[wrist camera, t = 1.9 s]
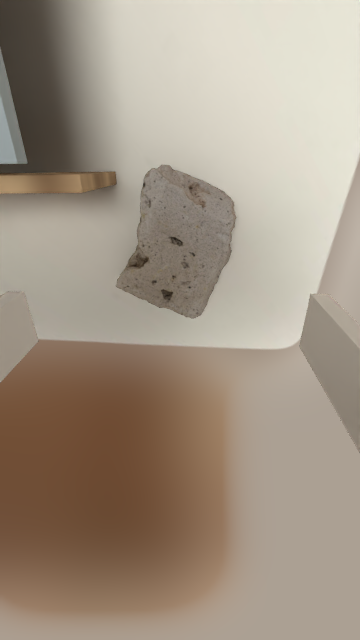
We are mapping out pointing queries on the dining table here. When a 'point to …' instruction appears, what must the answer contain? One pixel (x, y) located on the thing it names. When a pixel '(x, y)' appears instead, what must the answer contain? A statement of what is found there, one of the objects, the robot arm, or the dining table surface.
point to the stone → (179, 242)
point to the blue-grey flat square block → (9, 124)
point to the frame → (55, 182)
